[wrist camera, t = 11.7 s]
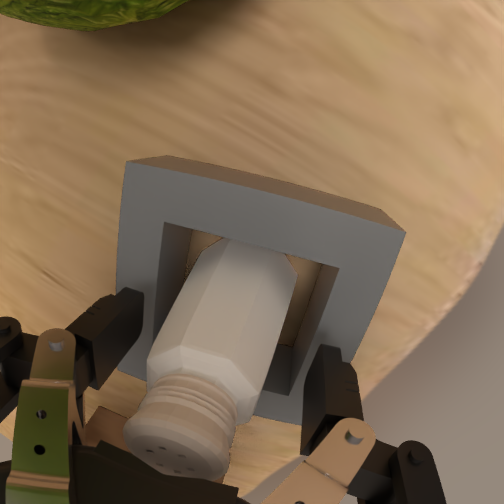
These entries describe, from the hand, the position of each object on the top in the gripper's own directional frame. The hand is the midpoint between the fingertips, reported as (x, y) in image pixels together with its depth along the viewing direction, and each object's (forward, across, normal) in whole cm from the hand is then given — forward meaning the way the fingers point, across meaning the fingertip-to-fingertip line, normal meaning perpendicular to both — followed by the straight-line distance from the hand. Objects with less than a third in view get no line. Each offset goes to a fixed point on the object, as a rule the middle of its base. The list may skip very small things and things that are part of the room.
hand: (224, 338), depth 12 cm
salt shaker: (+5, 0, 0) cm, 5 cm away
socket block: (+5, 0, 0) cm, 5 cm away
